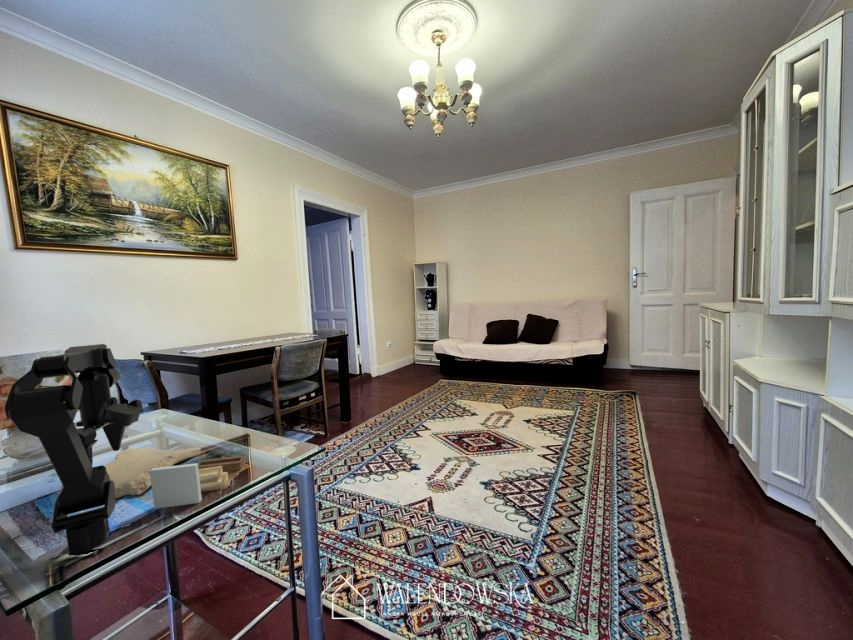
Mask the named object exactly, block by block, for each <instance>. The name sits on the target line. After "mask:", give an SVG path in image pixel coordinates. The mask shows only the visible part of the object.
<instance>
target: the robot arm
mask: <svg viewBox="0 0 853 640" xmlns="http://www.w3.org/2000/svg"><path fill="white" fill-rule="evenodd" d="M117 367H118V365H117V362H116V360H115V357H114V354H113V352H112V350H111V348H110V347H109V348H108V346H107V345H106V344H104V343H101V344H99V343H98V344H90V345H89V344H88V345H87V344H86V345H78V346H70V347H68V348H66V350H64V353H62V354H57V355H52V356H49V355H48V356H41V357H39V358H36V359H34V360H33V362H32V365H31V367H30V370H29V371H27V372H26V373H25V374H23V376H21V377H20V378H19V379H18V380H16V381H15V382H14V383H12V385H11V387H10V389H9V393H8V397H7V399H6V402H5V405H4V412H5V416H6V417H7V419H9V420H11V422H12V424H13V425H14V426H15V427H16V429H17V430H18V431H19V432H22V433H25V434H27V435H31V436H34V437H37V438H38V440H39V441H40V443H41V445H42V448H43V449H44V451H45V453H46V455H47V457H48V460H49V461H50V463H51V466H52V467H53V470H54V472H55V473H56V475H57V477H58V479H59V480H60V483H61V486H60V489H59V492H58V494H57V497H56V500H55V501H54V506H53V513H52V515H53V516H52V522H51V528H52V531H53V532H54V534H56V533H59V532H62V531H65V535H66V541H67V549H68V553H69V555H80V554H88V553H90V552H94V551H96V550H100V549H101V548H102V547H101V548H96V547H98V546H100V545H102V544H104V542H106V541H107V539H108V538H109V534H108V533H109V532H110V526H109V519H110V518H111V516H112V514H113V512H114V510H115V508H116V498H115V486H114V482H113V481H111V480H110V478H109V475H108V473H107V470H106V467H104V466H105V465H103V464H101V465H97V466H93V462H94V461H93V446H94V445H95V444H96V443H97V442H98V441H99V440H98V439H96V438H97V436H98V435H97V431H100V430H101V429H102V430H103V432H104V434H105V437H106V438H107V441H108V443H109V445H110V447H111V449H112V450H113V452H116V451H119V450H120V448H121V445H122V440H123V438H124V432H125V431H126V428H127V427H129V426H131V425H132V424H134V423H136V422H138V421H139V418H140V414H143V413H144V409H143V408H144V407H143V403H142V400H140V399H132V400H131V401H129V402H128V403H127V402H125V403H119V402H118V401H119V400H118V398H117V397H116V396H112V394H111V387H113V386H114V385H115V384H117V383H118V381H120V375H121V374H120V372H119V371H118V369H117ZM76 374H78V376H77V375H76ZM67 376H69V377H70V380H71V384H70V385H67V384H63V385H55V386H47V387H40V388H39V385H40V384H41V383H42V382H43V381H44V379H48V378H49V379H50V378H58V377H67ZM37 387H38V388H37ZM78 411H79V416H80V420H78V421H77V422H76V423H75V422H74V420H75V419H76V416H77V413H78ZM76 427H78V428H76ZM79 427H80V428H79ZM102 506H103V507H102ZM89 509H90V510H89ZM91 509H92V510H91ZM86 510H87V511H86ZM82 511H83V512H82ZM71 514H72V515H71Z"/></svg>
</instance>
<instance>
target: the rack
mask: <svg viewBox="0 0 853 640" xmlns="http://www.w3.org/2000/svg"><path fill="white" fill-rule="evenodd" d="M197 463H198V469H203V468H210V467H217V466H222V470H223V472H228V480H227V481H226V483H225V484H224V486H223V487H222V488H221V489H215V490H214V491H219V490H226V489H229V488H228V486H229V485H230V482H231V480H233V479H234V478H235V477H236V476H237V477H238V476H239V475H240V473H239V471H240V470H241V469H242V468H244V467H245V466H246V464H247V461H246V455H237V456H236V455H235V456H228V457H220V458H212V459H211V458H210V459H203V460H200V461H199V462H197ZM245 463H246V464H245ZM244 465H245V466H244ZM243 466H244V467H243ZM242 470H243V469H242ZM242 470H241V471H242ZM241 471H240V472H241ZM237 477H236V478H237ZM209 491H213V490H207V491H206V492H209ZM203 492H205V491H201V493H203Z"/></svg>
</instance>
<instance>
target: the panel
mask: <svg viewBox="0 0 853 640" xmlns="http://www.w3.org/2000/svg"><path fill="white" fill-rule="evenodd" d="M198 463H199V462H196V463H195V462H194V463H187V464H178V465H173V466H169V467H160V468H152V469H151V470H150V478H151V486H150V487H151V493H152V500H153V501H152V502H153V508H154V510H156V509H164V508H171V507H178V506H186V505H194V504H200V503H201V502H202V501H203V499H202V492H201V488H200V480H199V471H198Z"/></svg>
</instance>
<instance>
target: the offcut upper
mask: <svg viewBox="0 0 853 640" xmlns="http://www.w3.org/2000/svg"><path fill="white" fill-rule="evenodd" d="M198 471H199V480H200V484H203V483H209V482H215V481H218V480H219V478H220V476H221V475H222V473H223V470H222V466H217V467H210V468H203V469H198Z"/></svg>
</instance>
